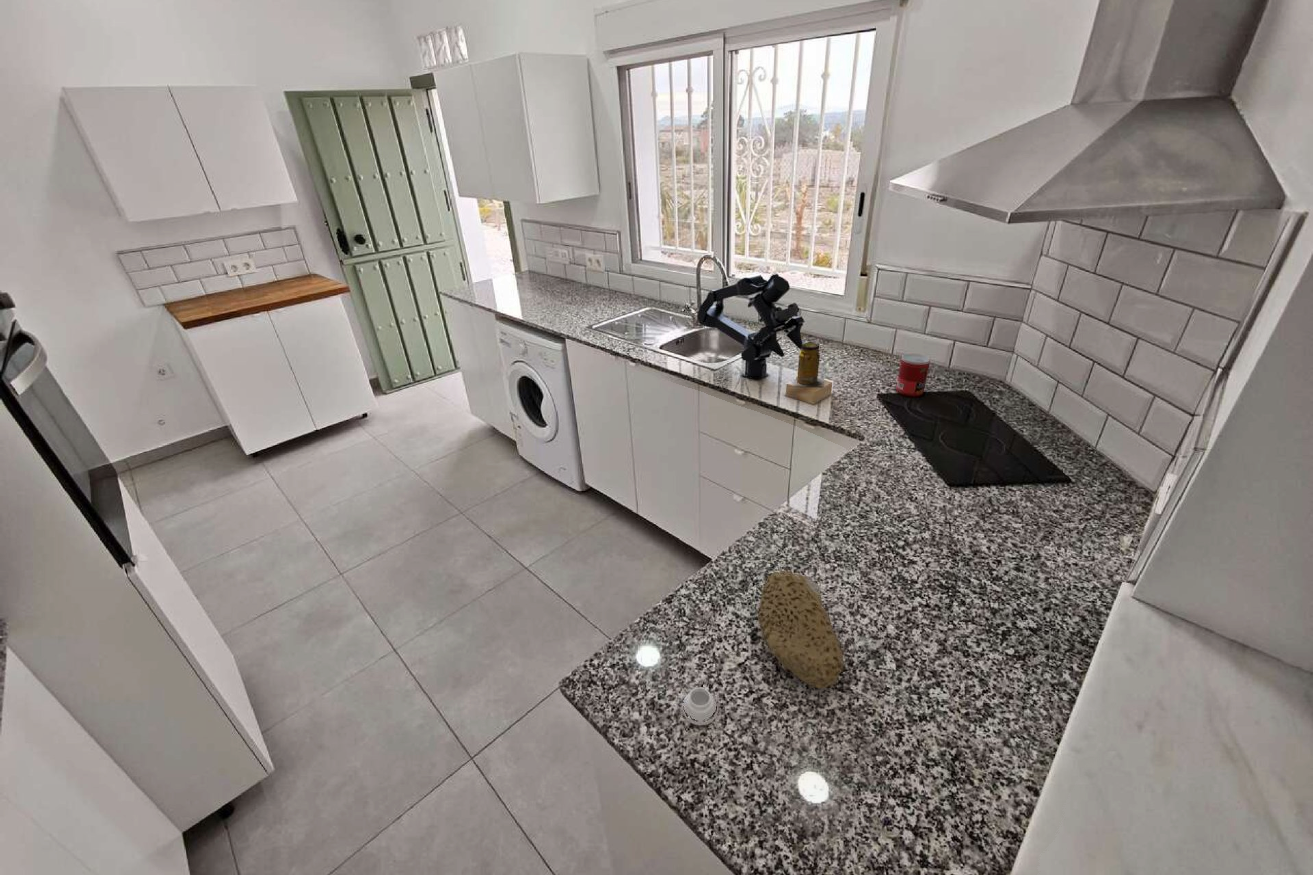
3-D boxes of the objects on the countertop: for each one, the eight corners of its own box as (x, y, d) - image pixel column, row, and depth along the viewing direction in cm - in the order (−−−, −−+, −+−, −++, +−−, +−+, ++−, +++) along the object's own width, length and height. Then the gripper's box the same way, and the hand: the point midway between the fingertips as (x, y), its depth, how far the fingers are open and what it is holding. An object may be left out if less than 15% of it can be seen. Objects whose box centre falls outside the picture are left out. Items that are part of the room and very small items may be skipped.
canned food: (919, 398, 162) (927, 364, 157) (892, 393, 166) (898, 359, 161) (926, 390, 167) (933, 356, 162) (899, 384, 172) (905, 351, 166)
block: (785, 395, 168) (786, 383, 166) (803, 385, 174) (804, 374, 172) (813, 404, 162) (815, 392, 160) (831, 394, 168) (832, 382, 166)
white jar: (724, 716, 75) (705, 688, 79) (725, 702, 74) (705, 675, 78) (694, 733, 73) (675, 704, 77) (694, 719, 72) (675, 690, 76)
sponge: (757, 596, 96) (745, 673, 78) (769, 559, 94) (759, 629, 75) (831, 620, 94) (837, 705, 75) (845, 583, 91) (854, 661, 73)
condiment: (796, 377, 170) (799, 340, 165) (824, 378, 168) (828, 341, 163) (795, 386, 164) (798, 348, 158) (824, 387, 162) (828, 349, 156)
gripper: (762, 301, 158) (789, 346, 155) (802, 290, 168) (828, 332, 165) (741, 322, 167) (767, 365, 165) (780, 310, 177) (805, 350, 175)
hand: (792, 352), depth 167 cm, fingers open, 9 cm apart
